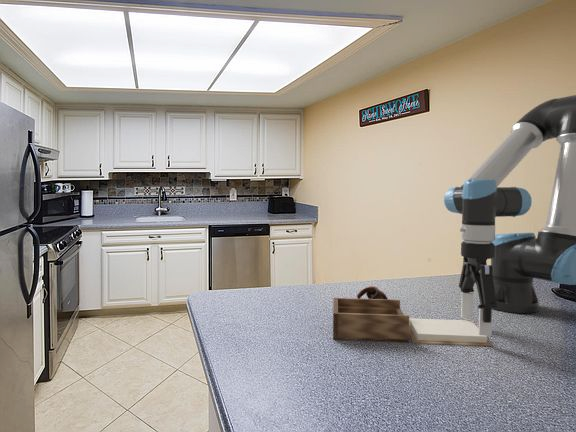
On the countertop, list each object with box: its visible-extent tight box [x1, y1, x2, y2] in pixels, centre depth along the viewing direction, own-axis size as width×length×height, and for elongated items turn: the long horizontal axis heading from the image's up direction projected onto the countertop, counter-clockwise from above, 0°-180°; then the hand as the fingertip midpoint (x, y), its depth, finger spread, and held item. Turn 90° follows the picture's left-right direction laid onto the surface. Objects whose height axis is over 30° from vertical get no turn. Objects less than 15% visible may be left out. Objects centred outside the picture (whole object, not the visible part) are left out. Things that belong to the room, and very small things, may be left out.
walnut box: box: [332, 297, 410, 344], centre depth 107 cm, size 18×15×6 cm
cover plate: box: [409, 317, 488, 343], centre depth 105 cm, size 16×12×2 cm
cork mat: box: [409, 325, 493, 347], centre depth 105 cm, size 18×15×1 cm
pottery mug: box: [356, 285, 389, 299], centre depth 126 cm, size 12×10×8 cm
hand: (475, 325), depth 104 cm, fingers open, 13 cm apart
